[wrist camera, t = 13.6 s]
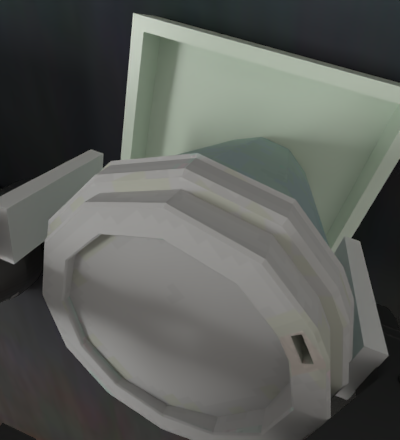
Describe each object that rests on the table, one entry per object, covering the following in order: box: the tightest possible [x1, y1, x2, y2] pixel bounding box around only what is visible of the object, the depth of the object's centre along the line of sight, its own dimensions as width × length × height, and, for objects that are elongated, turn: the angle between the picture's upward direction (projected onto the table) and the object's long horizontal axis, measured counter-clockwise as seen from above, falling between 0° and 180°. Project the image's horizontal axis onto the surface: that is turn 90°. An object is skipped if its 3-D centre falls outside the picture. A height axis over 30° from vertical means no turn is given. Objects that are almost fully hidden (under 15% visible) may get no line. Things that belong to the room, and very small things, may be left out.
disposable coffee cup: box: [42, 137, 354, 440], centre depth 15 cm, size 11×11×15 cm
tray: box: [121, 13, 400, 253], centre depth 21 cm, size 15×15×3 cm
